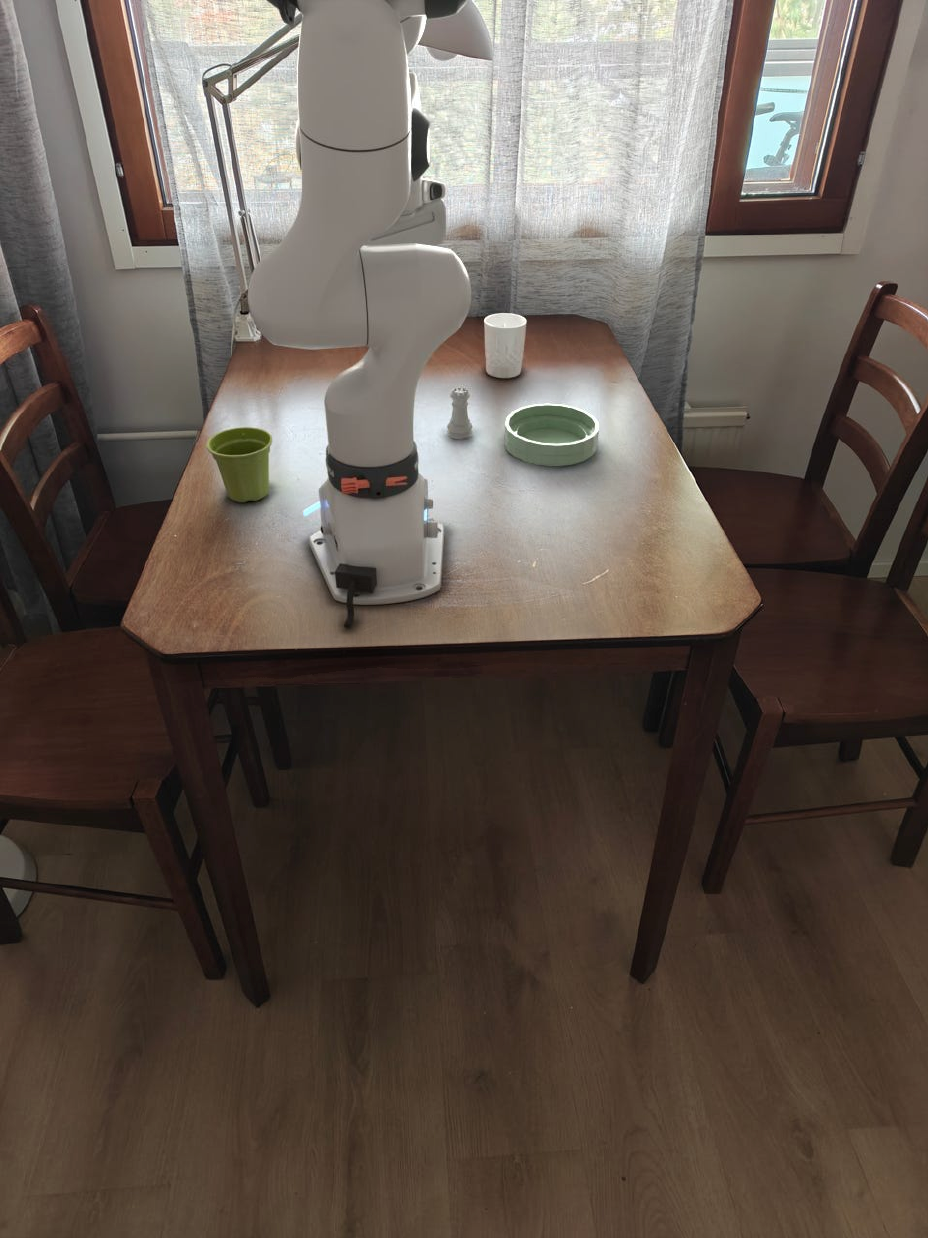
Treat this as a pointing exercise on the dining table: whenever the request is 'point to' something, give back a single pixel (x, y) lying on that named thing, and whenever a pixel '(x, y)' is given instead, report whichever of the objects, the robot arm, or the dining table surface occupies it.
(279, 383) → the dining table surface
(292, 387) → the dining table surface
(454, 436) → the rook chess piece
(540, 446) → the bowl
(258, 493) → the plant pot
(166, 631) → the dining table surface
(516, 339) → the white cup
